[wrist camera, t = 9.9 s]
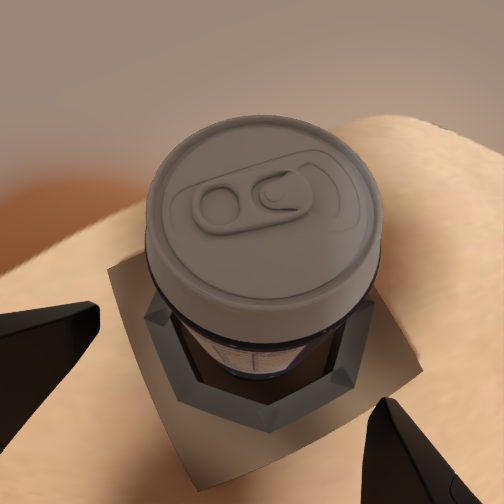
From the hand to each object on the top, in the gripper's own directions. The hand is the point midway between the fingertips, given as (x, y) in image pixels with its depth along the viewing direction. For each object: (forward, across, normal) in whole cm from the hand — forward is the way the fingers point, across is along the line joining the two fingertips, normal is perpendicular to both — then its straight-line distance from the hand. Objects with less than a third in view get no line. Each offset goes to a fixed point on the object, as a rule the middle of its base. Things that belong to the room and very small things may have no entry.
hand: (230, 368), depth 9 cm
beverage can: (+8, 0, +3) cm, 9 cm away
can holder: (+9, 0, +4) cm, 9 cm away
